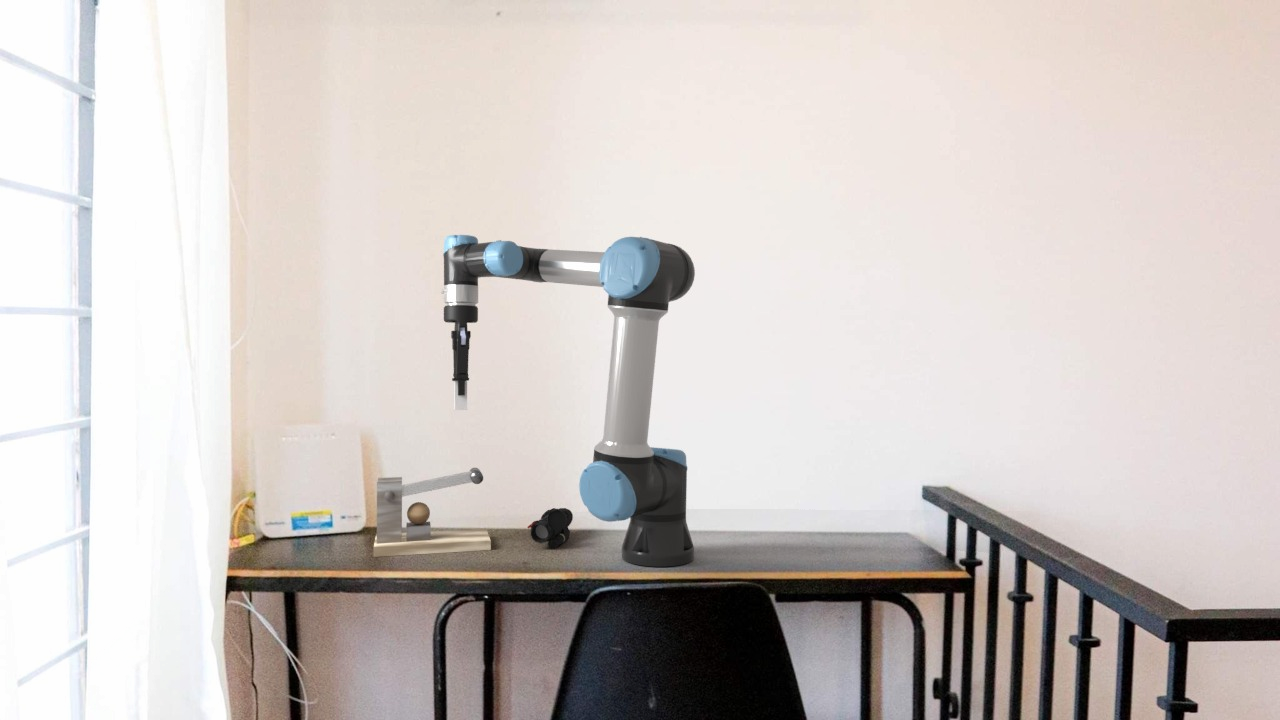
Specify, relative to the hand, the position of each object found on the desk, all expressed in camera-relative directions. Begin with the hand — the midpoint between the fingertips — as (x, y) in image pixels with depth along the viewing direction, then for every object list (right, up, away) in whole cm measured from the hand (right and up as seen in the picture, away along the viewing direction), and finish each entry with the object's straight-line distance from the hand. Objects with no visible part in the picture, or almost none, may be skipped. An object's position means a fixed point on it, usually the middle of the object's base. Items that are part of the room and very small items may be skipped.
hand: (460, 409), depth 180 cm
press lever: (-4, -17, -5) cm, 19 cm away
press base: (-5, -30, -5) cm, 30 cm away
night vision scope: (+21, -30, 0) cm, 36 cm away
